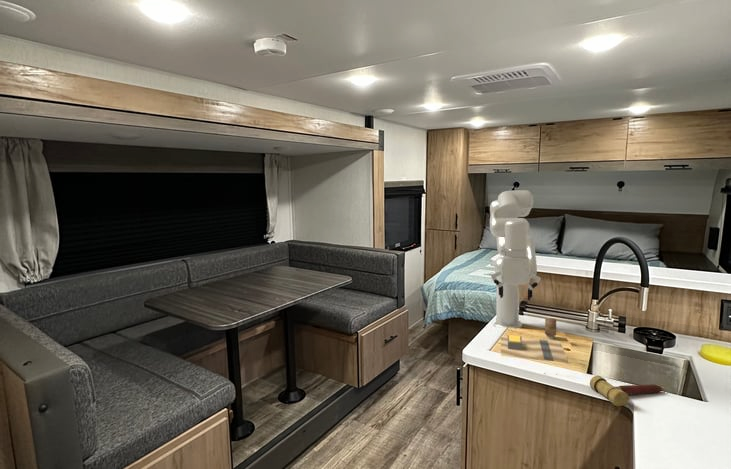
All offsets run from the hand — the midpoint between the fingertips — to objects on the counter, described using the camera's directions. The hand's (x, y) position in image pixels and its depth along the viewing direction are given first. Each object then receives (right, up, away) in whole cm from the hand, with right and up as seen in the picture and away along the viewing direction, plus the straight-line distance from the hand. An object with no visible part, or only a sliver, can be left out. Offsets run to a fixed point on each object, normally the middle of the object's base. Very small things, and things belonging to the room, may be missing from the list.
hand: (515, 298), depth 145 cm
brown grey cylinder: (+18, -19, +11) cm, 29 cm away
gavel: (+24, -24, -30) cm, 45 cm away
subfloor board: (+7, -21, +1) cm, 22 cm away
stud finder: (+1, -19, +4) cm, 20 cm away
